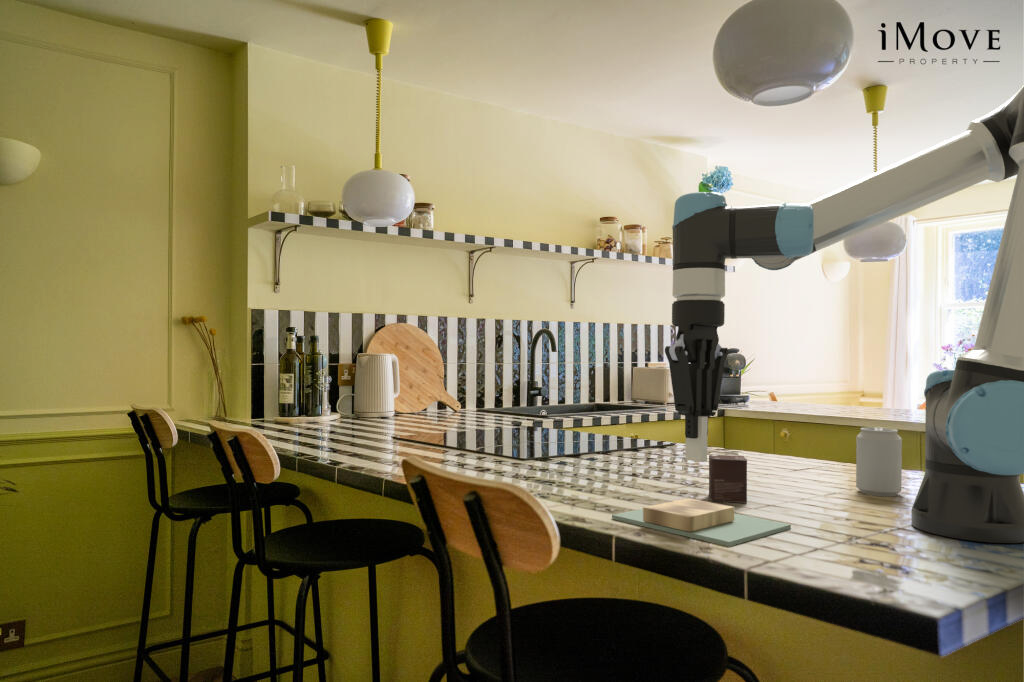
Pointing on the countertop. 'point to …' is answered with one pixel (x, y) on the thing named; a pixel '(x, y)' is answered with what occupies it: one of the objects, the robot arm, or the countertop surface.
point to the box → (728, 478)
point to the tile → (688, 514)
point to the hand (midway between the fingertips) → (696, 460)
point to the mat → (716, 528)
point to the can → (879, 461)
